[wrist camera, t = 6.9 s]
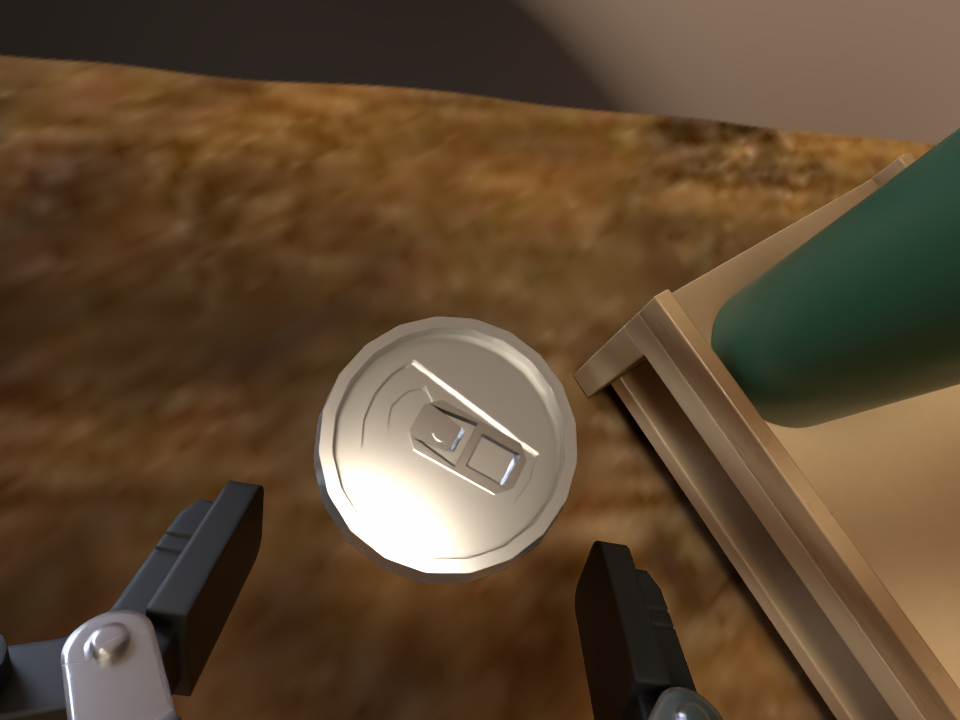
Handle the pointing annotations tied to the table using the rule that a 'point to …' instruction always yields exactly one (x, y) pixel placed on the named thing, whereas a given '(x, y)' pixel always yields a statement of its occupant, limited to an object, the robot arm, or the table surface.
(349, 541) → the beer can
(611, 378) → the tray
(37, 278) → the table surface
